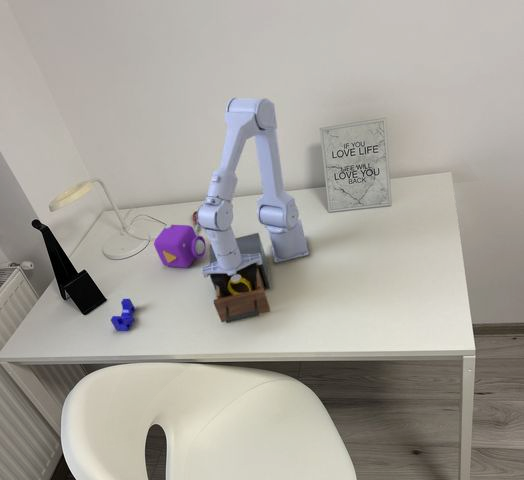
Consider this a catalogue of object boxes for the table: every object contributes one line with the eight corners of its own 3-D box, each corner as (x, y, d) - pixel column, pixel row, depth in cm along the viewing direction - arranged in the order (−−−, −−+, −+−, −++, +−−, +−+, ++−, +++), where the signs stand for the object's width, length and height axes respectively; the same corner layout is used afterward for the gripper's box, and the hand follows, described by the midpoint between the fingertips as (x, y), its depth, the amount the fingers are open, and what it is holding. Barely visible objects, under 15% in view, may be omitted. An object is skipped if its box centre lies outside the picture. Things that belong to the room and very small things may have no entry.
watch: (255, 291, 138) (249, 273, 134) (252, 299, 136) (246, 281, 132) (233, 291, 140) (226, 274, 136) (230, 299, 138) (223, 282, 134)
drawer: (272, 325, 130) (265, 305, 126) (222, 336, 132) (213, 317, 127) (266, 279, 143) (260, 259, 139) (220, 290, 145) (213, 270, 140)
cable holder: (128, 331, 143) (121, 320, 140) (116, 330, 144) (110, 320, 141) (140, 309, 148) (134, 298, 145) (129, 309, 149) (123, 298, 147)
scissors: (210, 211, 176) (209, 208, 175) (201, 237, 166) (200, 235, 165) (194, 213, 177) (193, 211, 177) (185, 239, 167) (184, 237, 167)
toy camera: (205, 269, 154) (193, 241, 148) (161, 272, 158) (148, 245, 152) (214, 245, 162) (203, 217, 155) (172, 248, 166) (160, 221, 159)
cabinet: (270, 288, 142) (262, 263, 136) (219, 300, 143) (209, 276, 137) (265, 257, 152) (258, 232, 146) (218, 268, 153) (209, 244, 147)
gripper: (195, 265, 125) (213, 307, 134) (257, 251, 124) (270, 294, 133) (196, 247, 131) (212, 289, 140) (254, 233, 129) (268, 276, 138)
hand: (240, 290), depth 137 cm, fingers closed on watch, 6 cm apart
